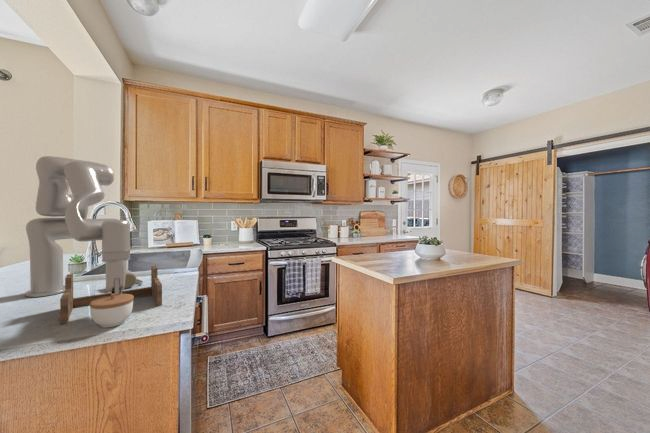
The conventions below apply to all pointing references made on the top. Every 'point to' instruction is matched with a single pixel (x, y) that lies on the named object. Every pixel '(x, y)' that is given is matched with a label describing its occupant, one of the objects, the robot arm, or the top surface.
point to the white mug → (131, 279)
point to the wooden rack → (69, 302)
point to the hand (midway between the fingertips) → (116, 308)
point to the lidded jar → (111, 309)
